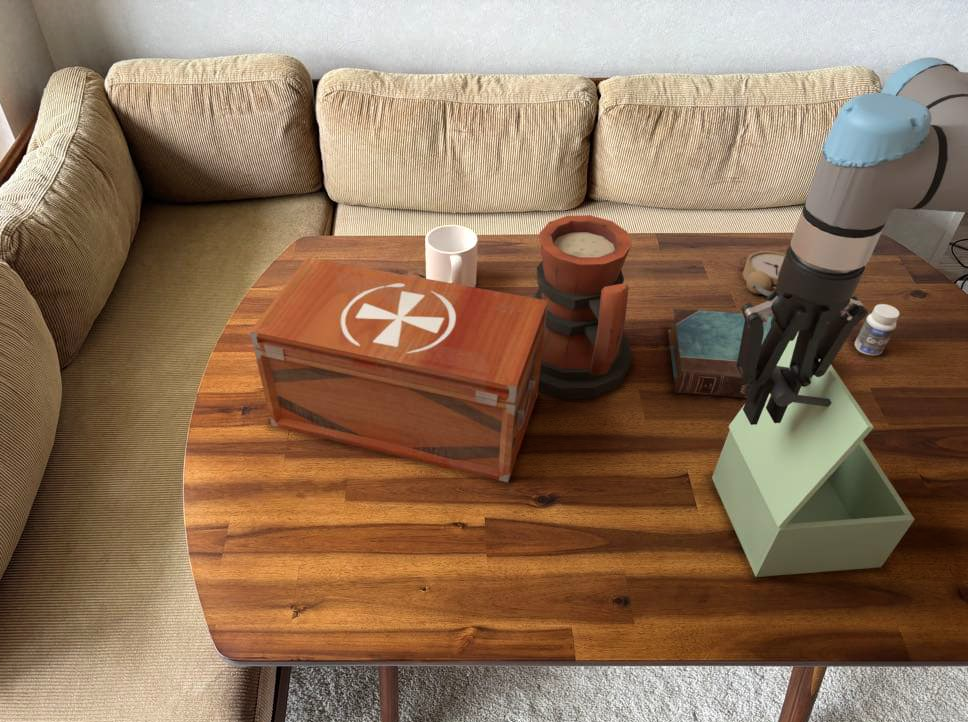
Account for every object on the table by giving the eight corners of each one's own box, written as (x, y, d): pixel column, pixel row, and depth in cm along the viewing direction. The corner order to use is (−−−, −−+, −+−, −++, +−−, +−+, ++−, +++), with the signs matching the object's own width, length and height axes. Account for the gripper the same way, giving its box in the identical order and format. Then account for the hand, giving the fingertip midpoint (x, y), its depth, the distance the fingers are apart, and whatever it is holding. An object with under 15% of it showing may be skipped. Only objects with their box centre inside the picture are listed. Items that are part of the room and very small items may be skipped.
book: (675, 394, 130) (682, 372, 127) (667, 329, 142) (673, 307, 139) (816, 406, 128) (827, 384, 124) (796, 338, 140) (805, 316, 136)
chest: (824, 469, 118) (850, 420, 110) (881, 567, 105) (914, 519, 98) (711, 478, 117) (729, 429, 109) (755, 577, 105) (779, 529, 97)
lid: (805, 327, 97) (750, 318, 95) (874, 427, 84) (811, 419, 83) (733, 427, 109) (682, 421, 108) (783, 527, 97) (727, 522, 95)
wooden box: (320, 348, 140) (306, 255, 126) (539, 394, 131) (550, 299, 117) (269, 425, 127) (247, 331, 113) (510, 483, 117) (518, 388, 103)
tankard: (599, 310, 147) (619, 194, 130) (660, 398, 130) (693, 277, 112) (490, 330, 143) (495, 214, 126) (537, 423, 126) (552, 303, 109)
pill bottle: (859, 356, 136) (878, 319, 130) (850, 339, 139) (867, 302, 134) (886, 356, 136) (906, 319, 130) (876, 339, 139) (895, 302, 133)
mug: (423, 271, 157) (422, 227, 150) (471, 266, 158) (472, 222, 151) (431, 308, 148) (430, 263, 141) (482, 303, 149) (484, 258, 142)
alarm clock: (805, 255, 154) (812, 286, 142) (797, 277, 156) (803, 310, 145) (746, 246, 156) (748, 276, 144) (740, 268, 159) (741, 300, 147)
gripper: (882, 230, 81) (808, 391, 98) (740, 238, 81) (690, 399, 97) (919, 270, 76) (835, 433, 93) (768, 280, 75) (710, 442, 92)
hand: (761, 415), depth 95 cm, fingers closed on lid, 2 cm apart
